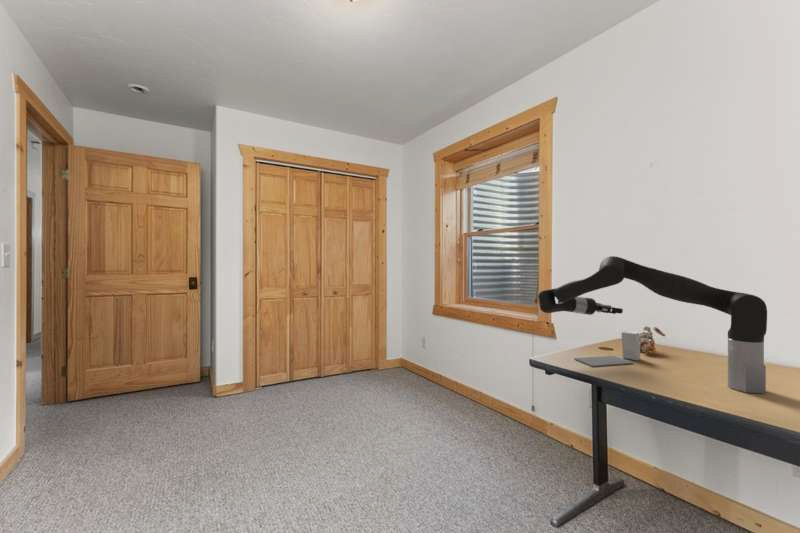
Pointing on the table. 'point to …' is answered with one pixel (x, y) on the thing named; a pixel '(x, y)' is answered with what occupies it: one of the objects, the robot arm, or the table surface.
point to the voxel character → (644, 340)
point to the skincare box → (630, 345)
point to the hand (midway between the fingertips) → (616, 309)
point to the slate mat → (603, 361)
